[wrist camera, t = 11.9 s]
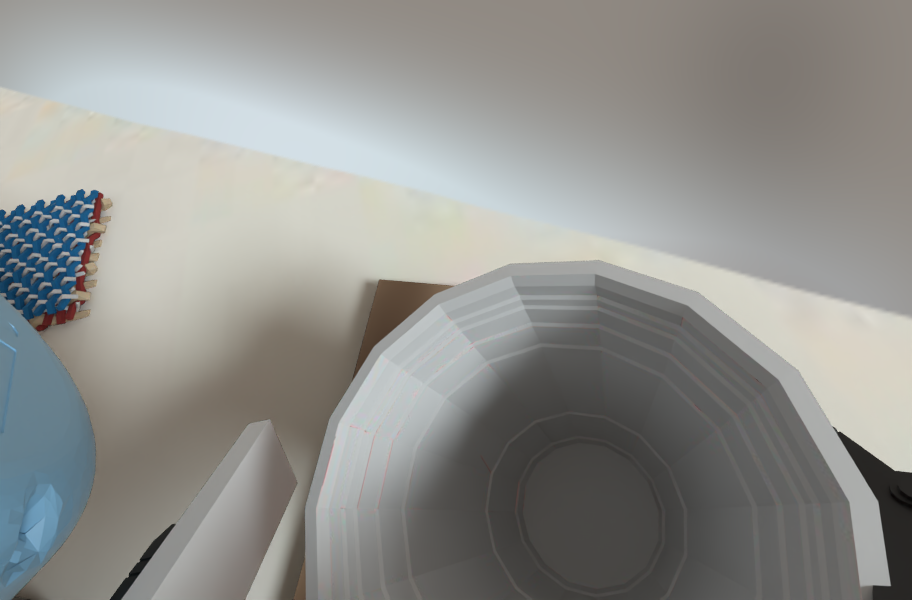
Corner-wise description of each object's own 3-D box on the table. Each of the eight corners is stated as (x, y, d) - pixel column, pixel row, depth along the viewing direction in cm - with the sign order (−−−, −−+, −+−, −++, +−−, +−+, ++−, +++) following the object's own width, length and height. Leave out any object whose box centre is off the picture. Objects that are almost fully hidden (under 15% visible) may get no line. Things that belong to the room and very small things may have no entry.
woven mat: (-49, 359, 30) (-86, 349, 28) (-3, 231, 35) (-32, 215, 33) (95, 325, 29) (66, 313, 27) (122, 199, 34) (99, 181, 32)
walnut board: (273, 719, 18) (257, 732, 17) (385, 288, 26) (379, 279, 25) (692, 853, 15) (705, 880, 14) (675, 315, 23) (682, 305, 22)
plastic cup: (458, 392, 22) (314, 290, 12) (695, 370, 19) (766, 207, 9) (459, 663, 18) (226, 861, 8) (774, 695, 14) (1112, 1120, 4)
